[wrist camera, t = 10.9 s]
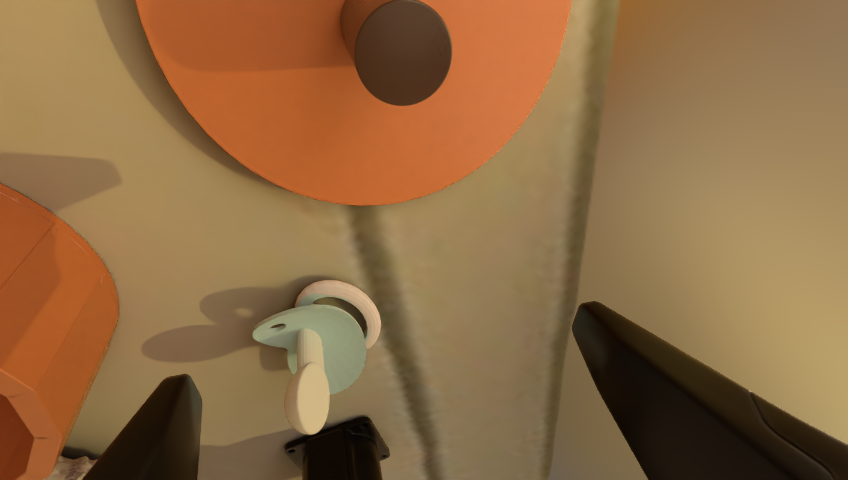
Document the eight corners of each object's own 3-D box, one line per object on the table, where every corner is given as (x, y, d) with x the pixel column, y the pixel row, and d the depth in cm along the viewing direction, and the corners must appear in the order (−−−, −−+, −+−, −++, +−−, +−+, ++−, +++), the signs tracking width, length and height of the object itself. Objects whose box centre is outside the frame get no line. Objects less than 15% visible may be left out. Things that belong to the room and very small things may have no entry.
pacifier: (346, 254, 21) (239, 300, 21) (366, 348, 16) (227, 410, 16) (395, 333, 26) (307, 372, 26) (421, 425, 21) (313, 473, 21)
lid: (557, 141, 20) (629, 200, 16) (267, 232, 19) (259, 321, 15) (562, -360, 11) (743, -558, 6) (-2, -230, 10) (-239, -355, 5)
